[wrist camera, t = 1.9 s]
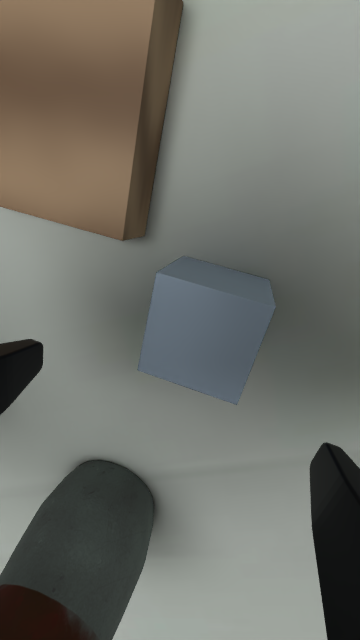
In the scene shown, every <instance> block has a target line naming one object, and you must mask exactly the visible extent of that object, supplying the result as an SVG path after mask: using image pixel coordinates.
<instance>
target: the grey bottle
mask: <svg viewBox="0 0 360 640" xmlns="http://www.w3.org/2000/svg"><path fill="white" fill-rule="evenodd" d="M153 512H154V505H153V499H152V496H151V494H150V492H149V490H148V488H147V486H146V485H145V484H144V483H143V482H142V481H141V480H140V479H139V478H138V477H137V476H136V475H134V474H133V473H131V472H130V471H128V470H127V469H126V468H124V467H121V466H119V465H116V464H114V463H112V462H106V461H100V460H97V461H88V462H86V463H84V464H82V465H80V466H78V467H77V468H76V469H75V470H74V471H72V472H71V473H70V474H69V475H67V476H66V477H65V478H64V479H63V481H62V482H61V483H60V484H59V485H58V486H57V487H56V488H55V490H54V491H53V492H52V493H51V494H50V495H49V496H48V497H47V499H46V500H45V501H44V502H43V503H42V505H41V506H40V508H39V509H38V511H37V513H36V514H35V516H34V518H33V519H32V521H31V523H30V524H29V526H28V528H27V529H26V531H25V533H24V535H23V536H22V538H21V540H20V541H19V543H18V545H17V546H16V548H15V550H14V552H13V553H12V555H11V557H10V559H9V561H8V562H7V564H6V566H5V568H4V570H3V571H2V573H1V575H0V640H112V639H113V636H114V634H115V632H116V630H117V628H118V625H119V623H120V621H121V619H122V617H123V614H124V612H125V610H126V607H127V605H128V603H129V600H130V598H131V596H132V593H133V591H134V588H135V586H136V584H137V581H138V579H139V577H140V574H141V572H142V569H143V566H144V563H145V560H146V555H147V550H148V545H149V541H150V536H151V531H152V526H153Z"/></svg>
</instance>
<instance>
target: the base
mask: <svg viewBox="0 0 360 640" xmlns="http://www.w3.org/2000/svg"><path fill="white" fill-rule="evenodd" d="M182 8H183V1H182V0H0V207H4V208H7V209H11V210H14V211H18V212H22V213H25V214H29V215H32V216H36V217H39V218H43V219H46V220H50V221H54V222H57V223H61V224H64V225H68V226H71V227H75V228H79V229H82V230H86V231H89V232H93V233H96V234H100V235H104V236H107V237H111V238H114V239H118V240H121V241H124V240H128V239H133V238H138V237H142V236H145V230H146V224H147V218H148V212H149V206H150V200H151V194H152V188H153V182H154V176H155V170H156V164H157V158H158V152H159V146H160V140H161V134H162V128H163V122H164V116H165V110H166V104H167V98H168V92H169V86H170V80H171V74H172V68H173V62H174V56H175V50H176V44H177V38H178V32H179V26H180V20H181V14H182Z"/></svg>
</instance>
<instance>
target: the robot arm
mask: <svg viewBox="0 0 360 640" xmlns="http://www.w3.org/2000/svg"><path fill="white" fill-rule="evenodd" d="M42 365H43V344H42V343H41V342H38V341H35V340H32V339H26V340H20V341H14V342H8V343H2V344H0V415H1V414H2V413H3V412H4V411H5V410H6V409H7V408H8V407H9V406H10V405H11V404H12V403H13V401H14V400H15V399H16V398H17V397H18V396H19V395H20V393H21V392H22V391H23V390H24V389H25V388H26V386H27V385H28V384H29V383H30V382H31V381H32V380H33V378H34V377H35V376H36V375H37V374H38V373H39V371H40V370H41V368H42ZM310 492H311V519H312V531H313V539H314V546H315V553H316V560H317V568H318V575H319V582H320V589H321V596H322V603H323V610H324V618H325V625H326V632H327V639H328V640H360V468H359V467H358V466H357V465H356V464H355V463H354V462H353V461H352V460H351V459H350V457H349V456H348V455H347V454H346V453H345V452H344V451H343V450H342V449H341V448H340V447H338V446H336V445H333V444H330V443H323V444H322V445H321V446H320V448H319V450H318V451H317V453H316V455H315V456H314V458H313V460H312V462H311V464H310Z"/></svg>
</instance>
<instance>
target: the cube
mask: <svg viewBox="0 0 360 640" xmlns="http://www.w3.org/2000/svg"><path fill="white" fill-rule="evenodd" d="M275 308H276V306H275V302H274V297H273V293H272V289H271V285H270V280H268V279H265V278H261V277H258V276H254V275H251V274H247V273H243V272H240V271H236V270H233V269H229V268H226V267H222V266H218V265H215V264H211V263H208V262H204V261H201V260H197V259H194V258H190V257H186V256H182V257H181V258H179V259H177V260H176V261H174V262H173V263H171V264H169V265H168V266H166V267H164V268H163V269H161V270H159V271H158V272H156V277H155V282H154V288H153V293H152V298H151V303H150V308H149V313H148V318H147V324H146V329H145V334H144V339H143V344H142V349H141V354H140V360H139V365H138V371H141V372H144V373H147V374H150V375H152V376H155V377H158V378H161V379H164V380H167V381H170V382H173V383H175V384H178V385H181V386H184V387H187V388H190V389H193V390H196V391H198V392H201V393H204V394H207V395H210V396H213V397H216V398H218V399H221V400H224V401H227V402H230V403H233V404H236V405H237V404H238V401H239V399H240V396H241V393H242V391H243V388H244V386H245V383H246V381H247V378H248V376H249V373H250V371H251V368H252V366H253V363H254V361H255V358H256V356H257V353H258V351H259V348H260V346H261V343H262V341H263V338H264V336H265V333H266V331H267V328H268V326H269V323H270V320H271V318H272V315H273V313H274V310H275Z"/></svg>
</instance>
